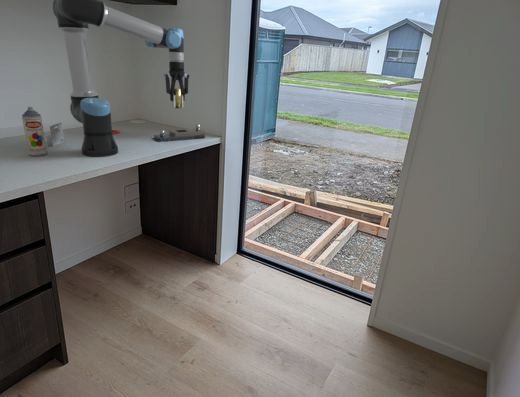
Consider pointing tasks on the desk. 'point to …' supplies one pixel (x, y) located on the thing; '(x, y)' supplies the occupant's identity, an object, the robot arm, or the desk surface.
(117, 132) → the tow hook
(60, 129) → the ink cartridge box
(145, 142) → the desk surface
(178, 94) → the brass pin
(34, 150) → the aerosol can
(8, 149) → the desk surface
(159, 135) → the door bolt
